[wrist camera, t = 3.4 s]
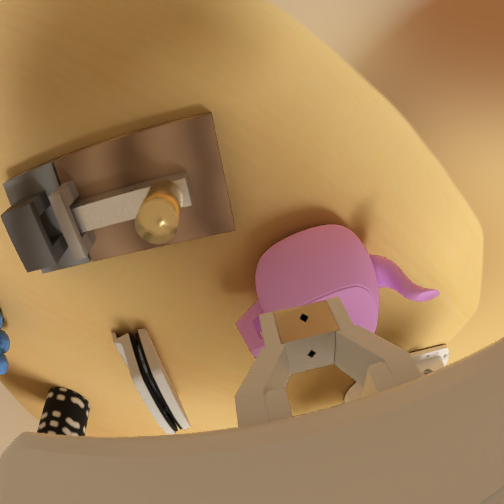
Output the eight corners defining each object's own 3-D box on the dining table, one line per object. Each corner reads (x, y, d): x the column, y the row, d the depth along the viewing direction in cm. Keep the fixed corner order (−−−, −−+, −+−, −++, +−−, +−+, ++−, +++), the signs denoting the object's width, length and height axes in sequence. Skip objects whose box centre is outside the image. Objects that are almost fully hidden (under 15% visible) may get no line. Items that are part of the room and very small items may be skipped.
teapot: (396, 278, 39) (438, 336, 29) (255, 335, 40) (268, 407, 31) (383, 188, 32) (443, 238, 22) (210, 256, 34) (213, 332, 24)
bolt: (185, 167, 26) (178, 197, 20) (193, 199, 27) (189, 237, 22) (65, 201, 26) (33, 237, 20) (76, 229, 27) (49, 269, 21)
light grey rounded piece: (110, 330, 37) (122, 388, 30) (143, 319, 39) (162, 374, 31) (150, 400, 46) (168, 449, 38) (176, 390, 48) (197, 438, 40)
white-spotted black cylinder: (85, 392, 44) (66, 498, 27) (94, 415, 48) (81, 509, 31) (43, 383, 42) (17, 482, 25) (55, 407, 46) (36, 496, 29)
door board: (211, 112, 26) (211, 119, 21) (233, 221, 32) (238, 248, 27) (12, 177, 25) (-15, 196, 21) (49, 263, 31) (31, 292, 27)
